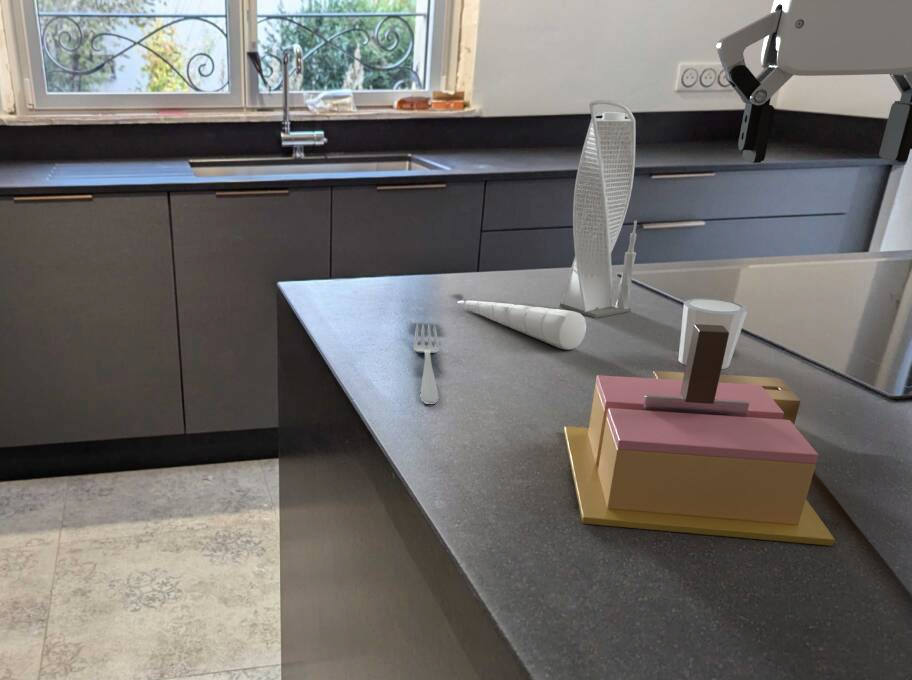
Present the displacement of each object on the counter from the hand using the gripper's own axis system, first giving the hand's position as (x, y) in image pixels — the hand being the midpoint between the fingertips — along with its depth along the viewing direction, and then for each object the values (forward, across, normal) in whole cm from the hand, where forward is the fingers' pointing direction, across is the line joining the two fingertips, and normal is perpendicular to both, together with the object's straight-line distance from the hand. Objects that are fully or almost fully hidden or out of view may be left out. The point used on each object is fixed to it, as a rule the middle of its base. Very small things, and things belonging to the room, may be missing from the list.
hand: (821, 160), depth 62 cm
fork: (+26, +30, -22) cm, 45 cm away
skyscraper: (+26, +8, -51) cm, 58 cm away
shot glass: (+26, -3, -29) cm, 39 cm away
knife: (+25, +7, +4) cm, 26 cm away
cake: (+26, +7, +4) cm, 27 cm away
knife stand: (+26, +1, -10) cm, 28 cm away
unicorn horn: (+26, +19, -39) cm, 51 cm away
